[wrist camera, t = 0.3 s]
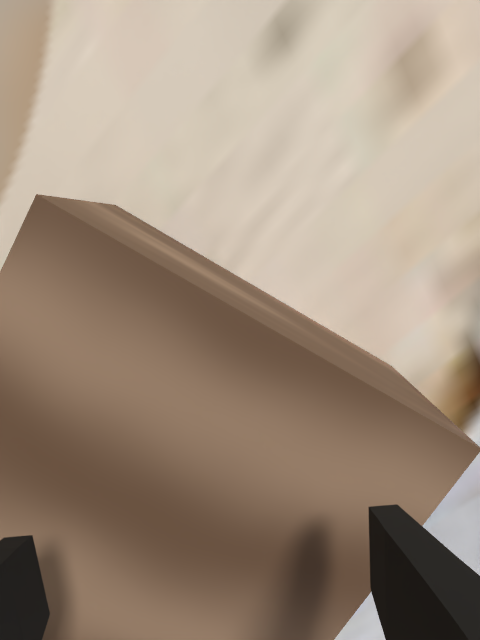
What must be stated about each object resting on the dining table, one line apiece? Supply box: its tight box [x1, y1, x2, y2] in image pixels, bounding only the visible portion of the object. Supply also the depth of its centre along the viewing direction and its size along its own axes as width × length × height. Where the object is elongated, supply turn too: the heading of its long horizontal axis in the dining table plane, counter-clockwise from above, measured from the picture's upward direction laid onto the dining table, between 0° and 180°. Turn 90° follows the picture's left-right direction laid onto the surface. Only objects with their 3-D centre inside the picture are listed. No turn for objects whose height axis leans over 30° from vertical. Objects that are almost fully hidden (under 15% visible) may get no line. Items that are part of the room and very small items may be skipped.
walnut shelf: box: [0, 194, 480, 640], centre depth 16 cm, size 20×13×7 cm
